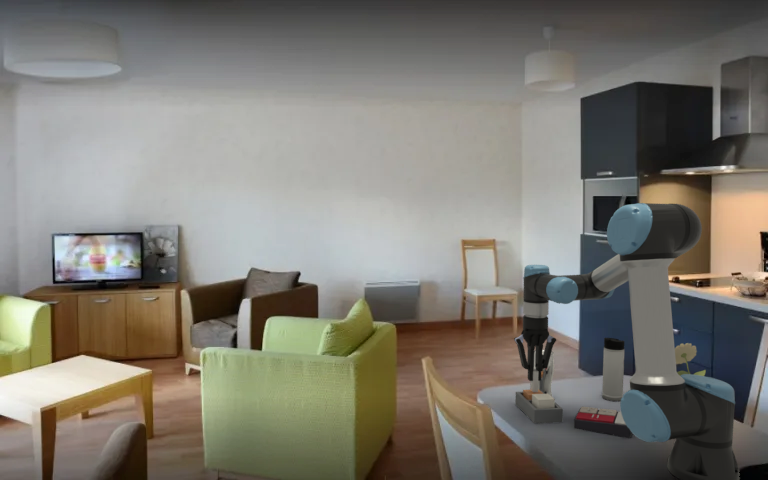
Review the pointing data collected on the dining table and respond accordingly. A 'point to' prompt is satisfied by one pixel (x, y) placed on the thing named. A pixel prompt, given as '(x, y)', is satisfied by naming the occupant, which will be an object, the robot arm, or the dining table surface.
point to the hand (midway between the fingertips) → (534, 390)
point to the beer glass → (546, 375)
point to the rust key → (530, 394)
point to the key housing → (539, 410)
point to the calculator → (601, 421)
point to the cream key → (543, 401)
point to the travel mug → (613, 369)
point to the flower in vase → (686, 357)
